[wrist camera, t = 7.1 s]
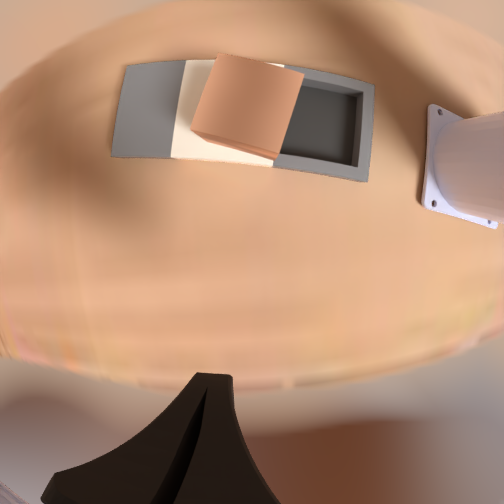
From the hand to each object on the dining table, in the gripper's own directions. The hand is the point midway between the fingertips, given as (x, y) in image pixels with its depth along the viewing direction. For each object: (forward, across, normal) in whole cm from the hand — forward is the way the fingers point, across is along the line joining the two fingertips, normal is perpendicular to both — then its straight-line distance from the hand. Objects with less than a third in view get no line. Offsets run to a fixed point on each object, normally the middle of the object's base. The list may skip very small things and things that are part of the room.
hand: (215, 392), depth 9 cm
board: (+9, 0, -12) cm, 15 cm away
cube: (+8, -1, -11) cm, 14 cm away
